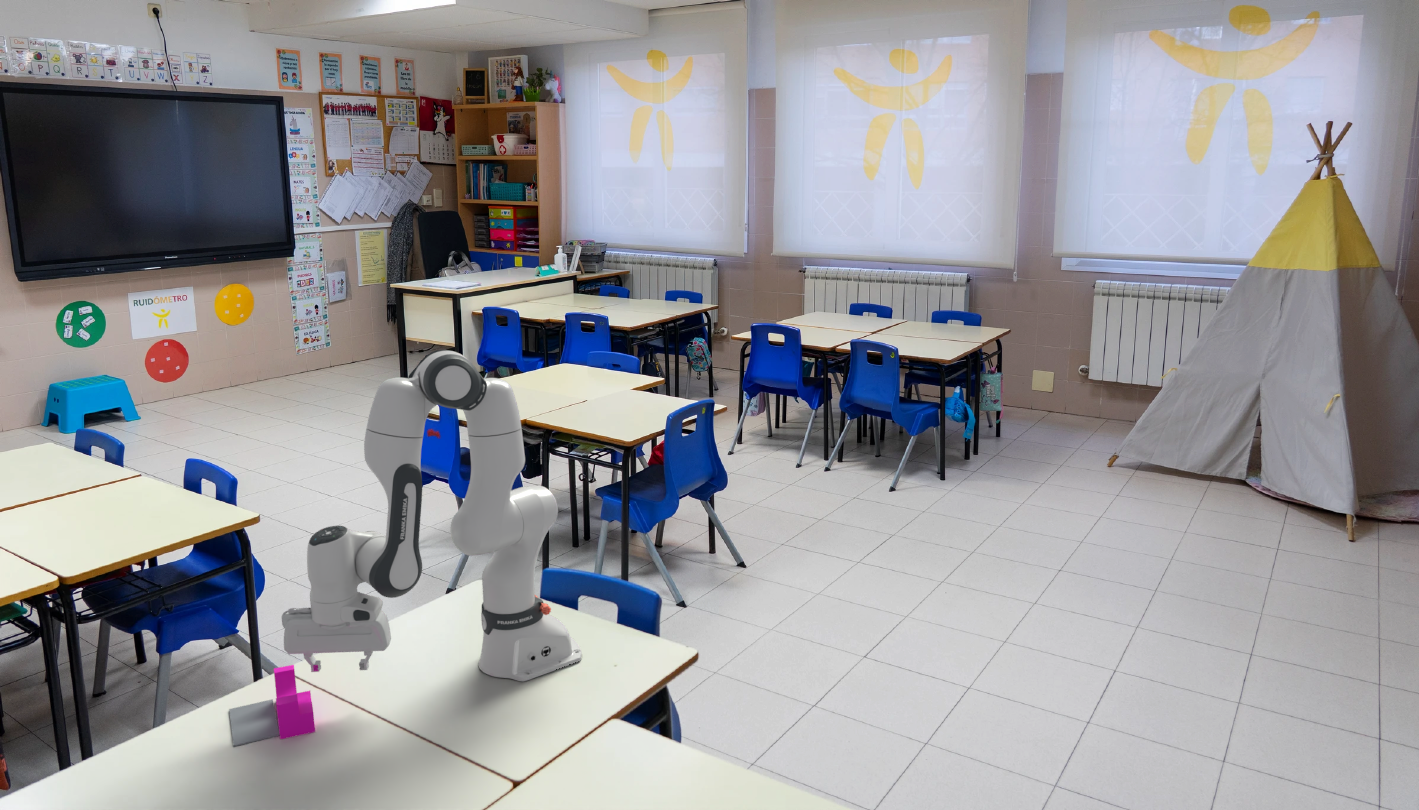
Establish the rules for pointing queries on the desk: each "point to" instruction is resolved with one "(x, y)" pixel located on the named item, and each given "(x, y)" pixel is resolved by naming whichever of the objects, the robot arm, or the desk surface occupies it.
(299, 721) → the magenta notched part
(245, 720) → the mat
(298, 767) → the desk surface
